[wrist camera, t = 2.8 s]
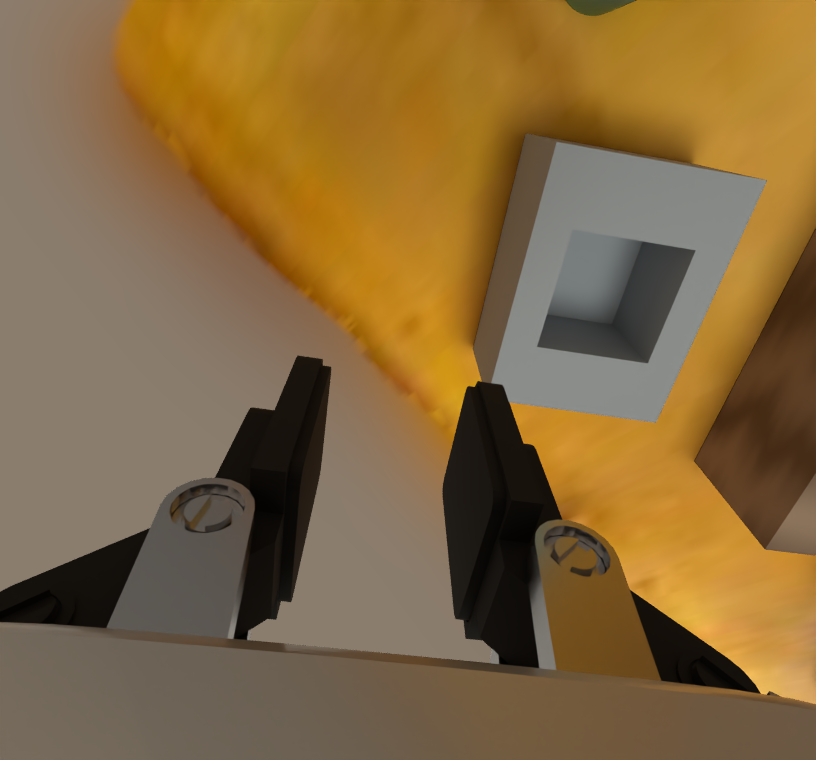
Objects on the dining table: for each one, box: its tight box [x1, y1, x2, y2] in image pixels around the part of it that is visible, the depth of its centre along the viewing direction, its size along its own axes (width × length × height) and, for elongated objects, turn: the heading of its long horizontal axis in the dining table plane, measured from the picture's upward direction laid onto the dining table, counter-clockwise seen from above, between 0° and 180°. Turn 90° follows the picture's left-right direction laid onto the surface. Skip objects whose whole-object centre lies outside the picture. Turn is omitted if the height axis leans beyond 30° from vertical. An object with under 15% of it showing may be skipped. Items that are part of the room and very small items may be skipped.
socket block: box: [473, 133, 767, 423], centre depth 27 cm, size 12×9×6 cm
